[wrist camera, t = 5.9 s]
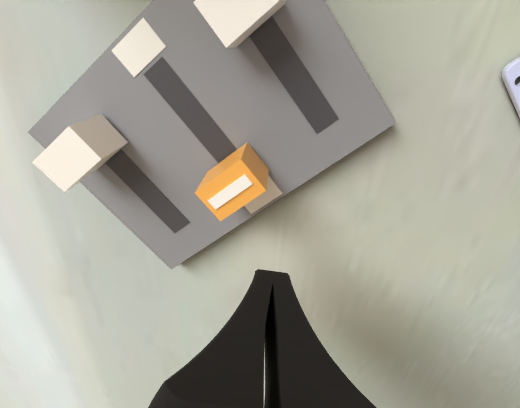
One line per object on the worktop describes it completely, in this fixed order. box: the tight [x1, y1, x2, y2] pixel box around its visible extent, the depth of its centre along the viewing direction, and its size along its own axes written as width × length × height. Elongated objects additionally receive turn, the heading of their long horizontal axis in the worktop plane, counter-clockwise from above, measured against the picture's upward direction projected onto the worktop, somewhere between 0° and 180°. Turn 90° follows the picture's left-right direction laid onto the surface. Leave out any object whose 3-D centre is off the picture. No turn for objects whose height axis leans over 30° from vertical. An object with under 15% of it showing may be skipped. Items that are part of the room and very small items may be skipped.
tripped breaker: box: [195, 142, 269, 221], centre depth 17 cm, size 2×3×3 cm, turn 127°
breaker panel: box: [28, 0, 396, 269], centre depth 17 cm, size 12×17×4 cm
